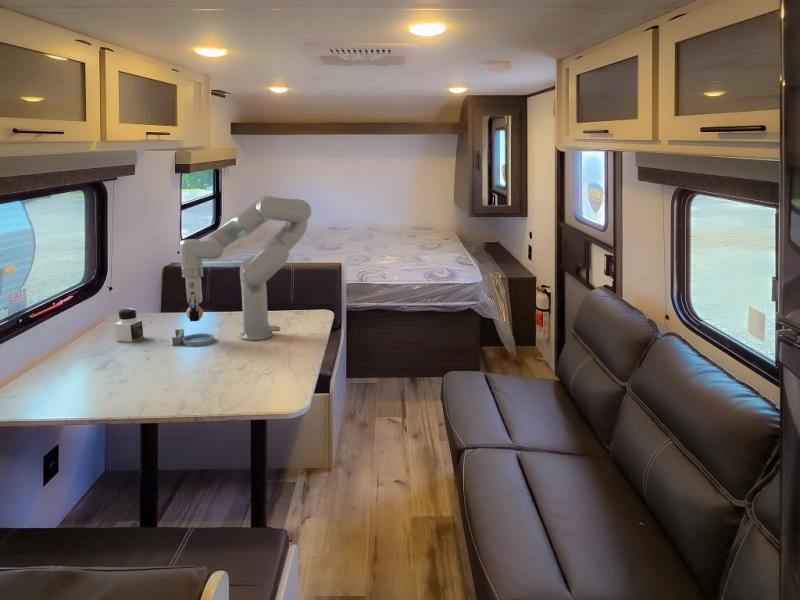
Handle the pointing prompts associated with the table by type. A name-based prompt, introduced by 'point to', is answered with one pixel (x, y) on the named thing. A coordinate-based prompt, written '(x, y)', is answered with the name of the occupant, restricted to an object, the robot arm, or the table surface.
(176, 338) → the gate arch
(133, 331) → the medicine bottle
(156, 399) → the table surface
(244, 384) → the table surface
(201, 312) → the ball
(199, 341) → the dish
